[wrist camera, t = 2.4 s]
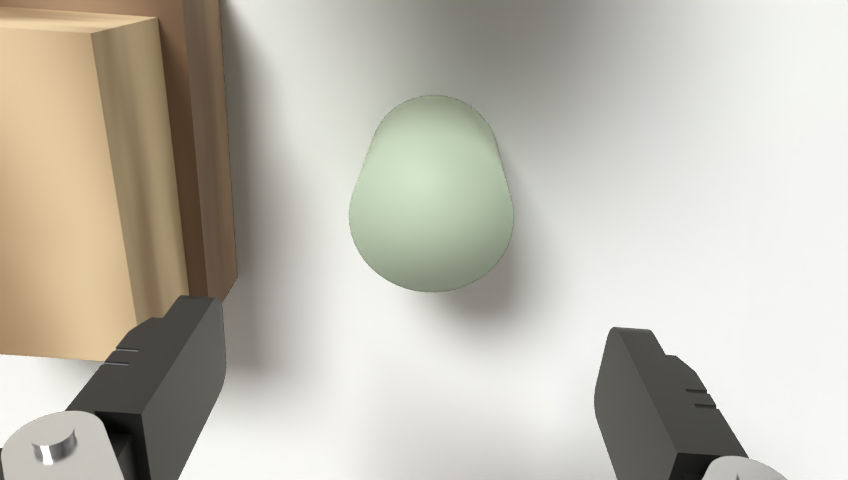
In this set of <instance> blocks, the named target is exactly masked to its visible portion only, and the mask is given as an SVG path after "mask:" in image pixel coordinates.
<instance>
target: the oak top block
mask: <svg viewBox="0 0 848 480" xmlns="http://www.w3.org/2000/svg"><path fill="white" fill-rule="evenodd" d="M180 295H189V287H188V278H187V269H186V261H185V252H184V243H183V234H182V226H181V217H180V208H179V199H178V191H177V182H176V173H175V164H174V156H173V147H172V138H171V129H170V121H169V112H168V103H167V94H166V86H165V77H164V68H163V59H162V51H161V42H160V33H159V24H158V17H147V16H133V15H118V14H104V13H89V12H75V11H60V10H46V9H31V8H17V7H2V6H0V354H6V355H21V356H35V357H50V358H65V359H80V360H94V361H105V360H106V359H107V358H108V356H109V355H110V354H111V353H112V351H115V350H116V347H117V345H118V344H119V343H120V342H121V340H122V339H123V338H124V337H125V335H126V334H127V333H128V332H129V331H130V330H131V329H133V328H134V327H136V326H138V325H139V324H141V323H143V322H144V321H146V320H147V319H149V318H151V317H156V318H163V317H164V316H165V314H166V313H167V312H168V310H169V309H170V307H171V306H172V305H173V303H174V302H175V301H176V299H177V298H178V297H179V296H180Z"/></svg>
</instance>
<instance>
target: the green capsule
mask: <svg viewBox="0 0 848 480" xmlns="http://www.w3.org/2000/svg"><path fill="white" fill-rule="evenodd" d="M513 221H514V214H513V205H512V200H511V196H510V192H509V189H508V185H507V181H506V177H505V174H504V170H503V166H502V163H501V159H500V155H499V151H498V148H497V144H496V140H495V138H494V135H493V132H492V130H491V128H490V127H489V125H488V123H487V122H486V121H485V119H484V118H483V117H482V116H481V115H480V114H479V113H478V112H477V111H476V110H475V109H473V108H472V107H471V106H469V105H467V104H466V103H464V102H462V101H459V100H457V99H454V98H450V97H446V96H439V95H429V96H421V97H417V98H413V99H411V100H408V101H406V102H404V103H402V104H400V105H398V106H397V107H396V108H394V109H393V110H392V111H390V112H389V113H388V114H387V115H386V116H385V117H384V119H383V120H382V121H381V123H380V124H379V126H378V128H377V130H376V131H375V134H374V136H373V139H372V142H371V145H370V147H369V150H368V153H367V156H366V158H365V161H364V164H363V167H362V170H361V172H360V175H359V178H358V181H357V183H356V186H355V189H354V192H353V194H352V198H351V202H350V209H349V225H350V230H351V235H352V238H353V240H354V243H355V245H356V247H357V249H358V251H359V253H360V255H361V256H362V258H363V259H364V260H365V262H366V263H367V264H368V265H369V266H370V267H371V268H372V269H373V270H374V271H375V272H376V273H378V274H379V275H380V276H382V277H383V278H385V279H386V280H388V281H390V282H392V283H394V284H396V285H398V286H401V287H403V288H406V289H410V290H414V291H421V292H443V291H449V290H454V289H457V288H460V287H463V286H466V285H468V284H470V283H472V282H474V281H476V280H477V279H479V278H481V277H482V276H483V275H485V274H486V273H487V272H488V271H490V270H491V269H492V268H493V266H494V265H495V264H496V263H497V262H498V261H499V259H500V258H501V257H502V255H503V254H504V252H505V250H506V248H507V246H508V243H509V241H510V238H511V234H512V230H513Z"/></svg>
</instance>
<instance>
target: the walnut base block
mask: <svg viewBox="0 0 848 480" xmlns="http://www.w3.org/2000/svg"><path fill="white" fill-rule="evenodd" d="M0 6H2V7H17V8H31V9H46V10H60V11H75V12H89V13H104V14H118V15H133V16H147V17H158V24H159V33H160V42H161V51H162V59H163V68H164V77H165V86H166V94H167V103H168V112H169V121H170V129H171V138H172V147H173V156H174V164H175V173H176V182H177V191H178V199H179V208H180V217H181V226H182V234H183V243H184V252H185V261H186V269H187V278H188V287H189V295H190V296H203V297H217V298H219V299H220V301H221V304H222V302H223V300H224V299H225V297H226V296H227V294H228V292H229V291H230V289H231V287H232V286H233V284H234V283H235V281H236V279H237V265H236V250H235V234H234V219H233V203H232V188H231V172H230V157H229V141H228V126H227V110H226V95H225V79H224V64H223V48H222V33H221V17H220V2H219V0H0Z"/></svg>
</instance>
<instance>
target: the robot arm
mask: <svg viewBox="0 0 848 480" xmlns="http://www.w3.org/2000/svg"><path fill="white" fill-rule="evenodd" d="M225 372H226V352H225V338H224V324H223V311H222V304H221V301H220V299H219V298H217V297H203V296H190V295H180V296H179V297H178V298H177V299H176V301H175V302H174V303H173V305H172V306H171V307H170V309H169V310H168V312H167V313H166V314H165V316H164V317H163V318H156V317H151V318H149V319H147V320H146V321H144V322H143V323H141V324H139V325H138V326H136V327H134V328H133V329H131V330H130V331H129V332H128V333H127V334H126V335H125V337H124V338H123V339H122V340H121V342H120V343H119V344H118V345H117V347H116V350H115V351H112V353H111V354H110V355H109V356H108V358H107V359H106V360H105V364H104V365H101V366H100V368H99V369H98V370H97V371H96V373H95V374H94V375H93V376H92V378H91V379H90V380H89V381H88V383H87V384H86V385H85V386H84V388H83V389H82V390H81V391H80V393H79V394H78V395H77V396H76V398H75V399H74V400H73V401H72V403H71V404H70V405H69V406H68V408H67V409H66V410H65V411H63V412H57V413H53V414H49V415H46V416H43V417H40V418H38V419H36V420H33V421H31V422H29V423H28V424H26V425H24V426H23V427H21V428H20V429H19V430H17V431H16V432H15V433H14V434H13V435H12V436H11V437H10V438H9V439H8V440H7V441H6V443H5V445H4V447H3V448H0V480H178V479H179V476H180V474H181V472H182V470H183V468H184V466H185V464H186V462H187V460H188V458H189V456H190V454H191V452H192V450H193V448H194V445H195V443H196V441H197V439H198V437H199V435H200V433H201V431H202V429H203V427H204V425H205V423H206V421H207V419H208V417H209V415H210V412H211V410H212V408H213V406H214V404H215V402H216V400H217V398H218V396H219V394H220V392H221V389H222V386H223V383H224V378H225ZM594 407H595V415H596V419H597V422H598V425H599V428H600V430H601V433H602V436H603V439H604V442H605V445H606V448H607V451H608V453H609V456H610V459H611V462H612V465H613V468H614V471H615V474H616V477H617V479H618V480H787V479H786V478H785V477H784V476H782V475H781V474H780V473H778V472H777V471H775V470H774V469H772V468H770V467H769V466H767V465H765V464H763V463H760V462H758V461H755V460H752V459H749V457H748V456H747V454H746V452H745V451H744V449H743V448H742V446H741V444H740V443H739V441H738V440H737V438H736V436H735V435H734V433H733V431H732V430H731V428H730V427H729V425H728V423H727V422H726V420H725V419H724V417H723V415H722V414H721V412H720V410H719V409H716V404H715V402H714V401H713V399H712V398H711V396H710V394H707V390H706V388H705V386H704V385H703V383H702V381H701V380H700V378H699V377H698V375H697V373H696V372H695V371H694V370H692V369H691V368H690V367H689V366H688V365H686V364H685V363H684V362H683V361H682V360H680V359H679V358H678V357H677V356H673V355H665V353H664V351H663V349H662V348H661V346H660V344H659V342H658V341H657V339H656V337H655V335H654V334H653V332H652V331H651V330H647V329H634V328H620V327H613V328H612V329H611V330H610V331H609V334H608V337H607V341H606V345H605V349H604V353H603V358H602V362H601V366H600V370H599V374H598V379H597V383H596V387H595V395H594Z"/></svg>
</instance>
